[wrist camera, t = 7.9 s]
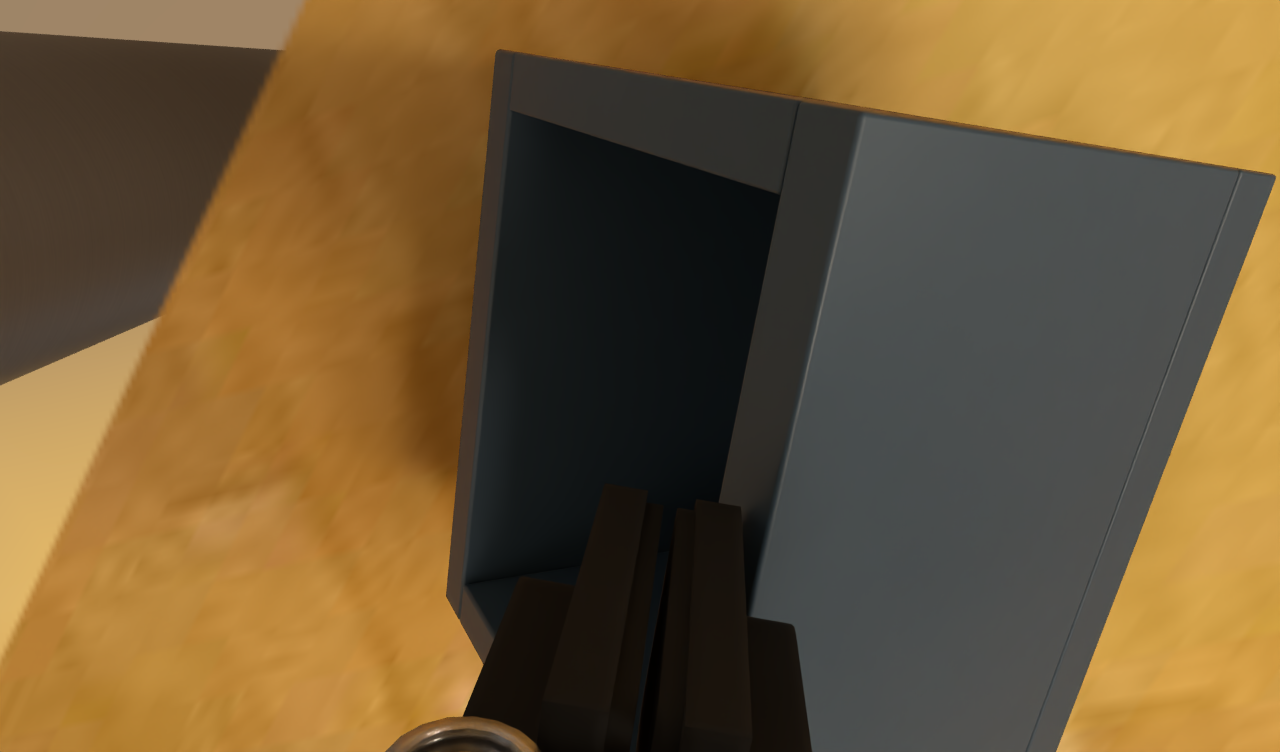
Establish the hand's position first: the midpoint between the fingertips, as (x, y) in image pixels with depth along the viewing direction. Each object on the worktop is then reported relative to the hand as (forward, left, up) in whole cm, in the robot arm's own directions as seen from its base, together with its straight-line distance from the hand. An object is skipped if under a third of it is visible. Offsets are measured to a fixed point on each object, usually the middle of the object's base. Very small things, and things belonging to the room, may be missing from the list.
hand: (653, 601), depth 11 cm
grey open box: (-1, 0, -10) cm, 10 cm away
